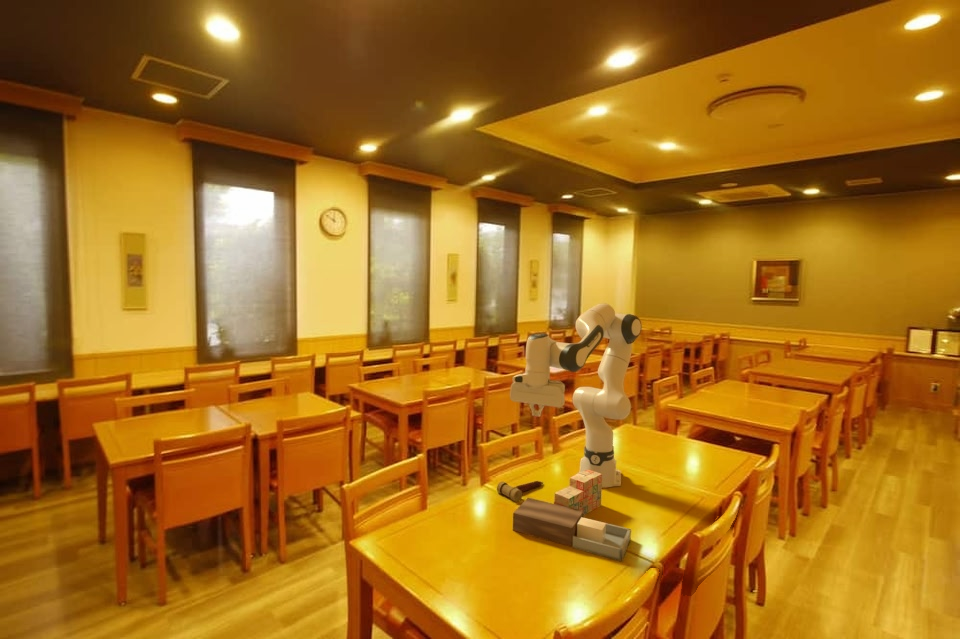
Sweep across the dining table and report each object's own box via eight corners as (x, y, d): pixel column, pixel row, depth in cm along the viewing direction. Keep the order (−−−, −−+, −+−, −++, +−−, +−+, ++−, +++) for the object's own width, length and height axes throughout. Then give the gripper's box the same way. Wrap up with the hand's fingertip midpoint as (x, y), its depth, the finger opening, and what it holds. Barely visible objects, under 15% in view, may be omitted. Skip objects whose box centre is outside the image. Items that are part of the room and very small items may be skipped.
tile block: (581, 517, 154) (606, 523, 150) (581, 531, 154) (605, 538, 150) (577, 523, 149) (602, 530, 145) (576, 539, 149) (601, 545, 146)
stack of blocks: (568, 525, 160) (569, 490, 159) (553, 518, 165) (554, 484, 164) (601, 505, 175) (602, 473, 174) (586, 499, 179) (587, 468, 179)
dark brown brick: (527, 513, 167) (527, 497, 167) (582, 528, 158) (583, 510, 157) (512, 530, 156) (513, 512, 155) (571, 546, 146) (571, 528, 146)
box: (584, 527, 158) (584, 517, 158) (630, 539, 151) (630, 529, 151) (572, 547, 146) (572, 537, 145) (621, 561, 139) (622, 550, 139)
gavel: (534, 473, 197) (552, 481, 189) (533, 484, 197) (551, 492, 189) (496, 482, 183) (514, 491, 176) (496, 494, 184) (513, 503, 176)
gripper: (567, 379, 168) (566, 417, 168) (515, 374, 177) (514, 410, 178) (562, 382, 162) (561, 422, 163) (508, 376, 172) (507, 414, 172)
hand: (536, 415), depth 171 cm, fingers closed
